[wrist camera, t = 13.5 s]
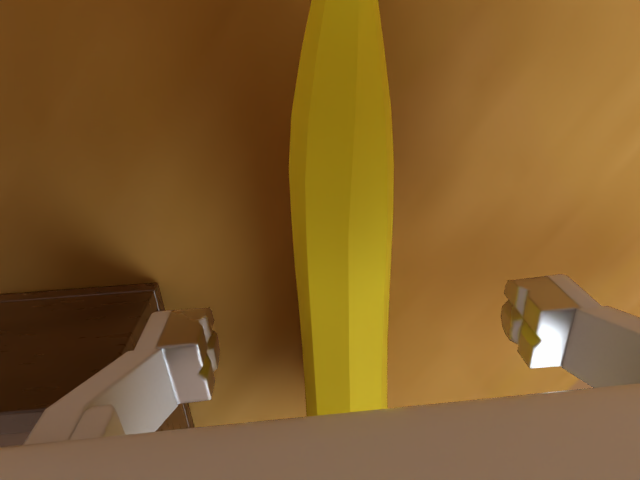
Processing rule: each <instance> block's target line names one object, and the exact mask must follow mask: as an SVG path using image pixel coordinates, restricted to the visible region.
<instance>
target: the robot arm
mask: <svg viewBox="0 0 640 480" xmlns="http://www.w3.org/2000/svg"><path fill="white" fill-rule="evenodd" d="M504 294H505V295H506V297H507V298H508V301H507V302H506V303H505V304H504V305H503V306H502V311H501V321H502V327H503V329H504V332H505V334H506V336H507V337H508V339H509V340H510V341H512V342H514V343H516V344H518V350H517V351H518V353H519V354H520V356H521V357H522V358H523V360H524V361H525V363H526V364H527V365H528V367H529V368H543V367H557V366H562V368H563V369H565V370H566V371H568V372H570V373H571V374H573V375H574V376H576V377H577V378H579V379H581V380H582V381H584V382H585V383H587V384H588V385H590V386H591V387H593V388H587V389H577V390H567V391H557V392H547V393H537V394H527V395H517V396H507V397H497V398H487V399H477V400H468V401H458V402H448V403H438V404H428V405H418V406H408V407H398V408H388V409H378V410H368V411H358V412H348V413H338V414H328V415H318V416H308V417H298V418H288V419H278V420H268V421H258V422H248V423H238V424H228V425H218V426H208V427H198V428H188V429H178V430H168V431H158V432H155V431H156V430H157V429H158V428H159V427H160V426H161V425H162V423H163V422H164V421H165V420H166V419H167V418H168V417H169V415H170V414H171V413H172V412H173V411H174V410H175V409H176V407H177V406H178V404H182V403H190V402H198V401H205V400H211V398H212V393H213V389H214V384H215V377H214V373H213V372H214V371H215V370H216V369H217V368H218V364H219V353H220V348H219V340H218V335H217V333H216V332H215V331H214V330H212V328H213V324H214V317H213V313H212V310H211V309H210V307H209V308H195V309H181V310H167V311H157V312H154V313H152V314H151V316H150V318H149V320H148V322H147V324H146V326H145V328H144V330H143V332H142V334H141V336H140V338H139V340H138V343H137V345H136V347H135V349H134V351H128V352H126V353H125V354H123V355H122V356H120V357H119V358H118V359H116V360H115V361H113V362H112V363H110V364H109V365H108V366H106V367H105V368H103V369H102V370H101V371H99V372H98V373H96V374H95V375H93V376H92V377H91V378H89V379H88V380H86V381H85V382H83V383H82V384H81V385H79V386H78V387H76V388H75V389H74V390H72V391H71V392H69V393H68V394H66V395H65V396H64V397H62V398H61V399H59V400H58V401H56V402H55V403H54V404H52V405H51V406H49V407H48V408H47V409H45V411H44V412H43V414H42V415H41V417H40V418H39V420H38V422H37V423H36V425H35V426H34V428H33V429H32V431H31V432H30V434H29V436H28V437H27V439H26V440H25V442H24V443H23V445H18V446H8V447H0V480H640V318H639V317H637V316H634V315H631V314H628V313H626V312H623V311H620V310H618V309H615V308H612V307H609V306H601V305H600V304H599V303H597V302H596V301H595V300H594V299H593V298H592V297H591V296H590V295H588V294H587V293H586V292H585V291H584V290H583V289H582V288H581V287H579V286H578V285H577V284H576V283H575V282H574V281H573V280H571V279H570V278H569V277H568V276H567V275H564V274H557V275H550V276H544V277H535V278H526V279H517V280H508V281H507V283H506V285H505V290H504Z"/></svg>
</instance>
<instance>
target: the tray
mask: <svg viewBox="0 0 640 480" xmlns="http://www.w3.org/2000/svg"><path fill="white" fill-rule="evenodd" d="M157 311H165V309H164V305H163V301H162V297H161V293H160V289H159V285H158V283H150V284H136V285H123V286H110V287H96V288H83V289H70V290H56V291H43V292H30V293H16V294H3V295H0V447H8V446H18V445H23V443H24V442H25V440H26V439H27V437H28V436H29V434H30V432H31V431H32V429H33V428H34V426H35V425H36V423H37V422H38V420H39V418H40V417H41V415H42V414H43V412H44V411H45V409H47V408H48V407H49V406H51V405H52V404H54V403H55V402H56V401H58V400H59V399H61V398H62V397H64V396H65V395H66V394H68V393H69V392H71V391H72V390H74V389H75V388H76V387H78V386H79V385H81V384H82V383H83V382H85V381H86V380H88V379H89V378H91V377H92V376H93V375H95V374H96V373H98V372H99V371H101V370H102V369H103V368H105V367H106V366H108V365H109V364H110V363H112V362H113V361H115V360H116V359H118V358H119V357H120V356H122V355H123V354H125V353H126V352H128V351H134V349H135V347H136V345H137V343H138V340H139V338H140V336H141V334H142V332H143V330H144V328H145V326H146V324H147V322H148V320H149V318H150V316H151V314H152V313H154V312H157ZM188 428H194V425H193V421H192V417H191V413H190V409H189V405H188V403H182V404H178V406H177V407H176V409H175V410H174V411H173V412H172V413H171V414H170V415H169V417H168V418H167V419H166V420H165V421H164V422H163V423H162V425H161V426H160V427H159V428H158V429H157V430H156V431H155V432H158V431H168V430H178V429H188Z"/></svg>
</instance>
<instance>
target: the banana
mask: <svg viewBox="0 0 640 480" xmlns="http://www.w3.org/2000/svg"><path fill="white" fill-rule="evenodd" d="M289 182H290V202H291V221H292V234H293V248H294V262H295V273H296V283H297V294H298V304H299V316H300V327H301V339H302V352H303V365H304V379H305V395H306V412H307V417H308V416H318V415H328V414H338V413H348V412H358V411H368V410H378V409H388V406H387V347H388V315H389V291H390V272H391V251H392V229H393V196H394V154H393V134H392V114H391V102H390V94H389V85H388V76H387V68H386V59H385V50H384V42H383V35H382V27H381V20H380V12H379V5H378V0H311V5H310V10H309V15H308V20H307V25H306V29H305V34H304V39H303V44H302V49H301V55H300V61H299V68H298V74H297V81H296V87H295V94H294V100H293V107H292V113H291V132H290V154H289Z"/></svg>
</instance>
